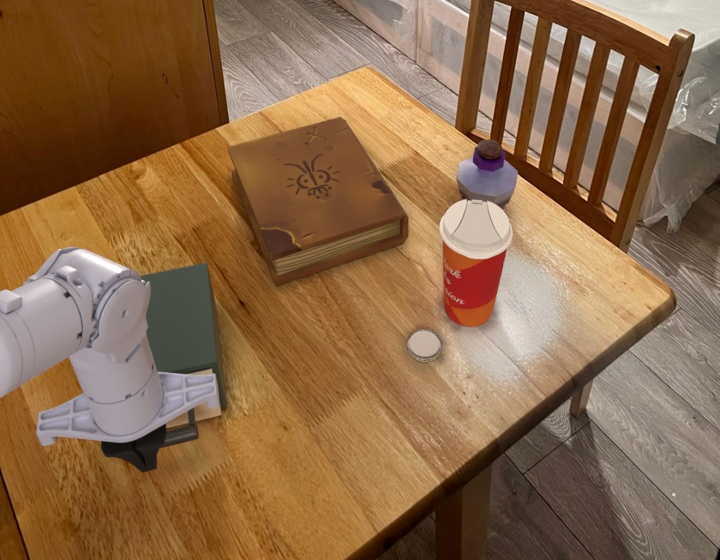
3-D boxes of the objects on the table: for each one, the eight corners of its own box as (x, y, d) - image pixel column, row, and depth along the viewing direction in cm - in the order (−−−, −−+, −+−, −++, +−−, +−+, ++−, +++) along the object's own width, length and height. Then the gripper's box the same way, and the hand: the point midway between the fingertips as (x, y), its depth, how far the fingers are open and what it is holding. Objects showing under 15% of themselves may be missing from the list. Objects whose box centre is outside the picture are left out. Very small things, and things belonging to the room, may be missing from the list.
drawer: (225, 452, 75) (216, 416, 71) (120, 478, 73) (105, 442, 69) (212, 320, 88) (204, 283, 84) (124, 339, 86) (111, 302, 82)
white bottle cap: (443, 335, 87) (443, 332, 86) (438, 364, 84) (438, 361, 83) (410, 329, 88) (410, 325, 87) (404, 357, 84) (404, 354, 84)
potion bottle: (525, 206, 104) (534, 141, 97) (495, 242, 99) (503, 176, 92) (472, 181, 109) (478, 117, 102) (441, 215, 103) (444, 150, 96)
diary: (408, 242, 99) (408, 212, 96) (275, 286, 93) (271, 256, 90) (346, 143, 116) (345, 114, 113) (232, 174, 111) (227, 145, 108)
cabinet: (227, 408, 80) (216, 361, 75) (118, 434, 78) (99, 387, 73) (216, 308, 91) (207, 262, 86) (120, 329, 89) (105, 282, 84)
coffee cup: (436, 277, 94) (441, 192, 85) (501, 283, 93) (513, 198, 84) (432, 332, 87) (437, 246, 79) (502, 340, 86) (515, 253, 78)
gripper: (205, 312, 63) (225, 401, 71) (28, 348, 60) (69, 437, 68) (211, 384, 57) (232, 473, 65) (16, 428, 55) (62, 515, 62)
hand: (149, 460), depth 66 cm, fingers closed
